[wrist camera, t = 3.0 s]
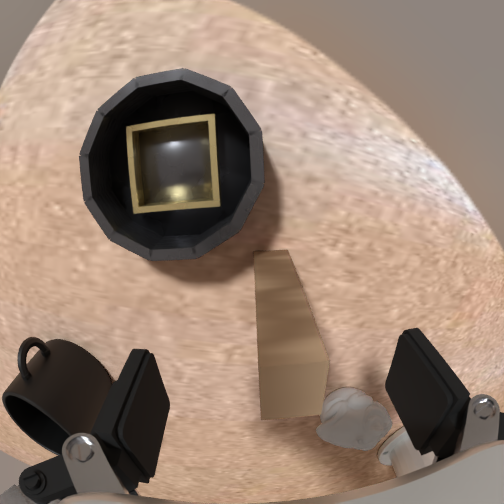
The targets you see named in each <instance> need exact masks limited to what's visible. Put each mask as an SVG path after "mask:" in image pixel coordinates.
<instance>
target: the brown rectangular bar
mask: <svg viewBox="0 0 504 504" xmlns="http://www.w3.org/2000/svg"><path fill="white" fill-rule="evenodd" d="M254 273H255V297H256V321H257V346H258V370H259V389H260V408H261V420H272V419H286V418H297V417H306V416H315V415H321V412H322V407H323V401H324V395H325V389H326V382H327V376H328V369H329V362H330V360H329V358H328V355H327V352H326V349H325V347H324V344H323V341H322V338H321V336H320V333H319V330H318V327H317V325H316V322H315V319H314V317H313V314H312V311H311V309H310V306H309V303H308V301H307V298H306V296H305V293H304V290H303V288H302V285H301V283H300V280H299V277H298V275H297V272H296V270H295V267H294V265H293V262H292V260H291V257H290V255H289V252H288V250H274V251H255V252H254Z"/></svg>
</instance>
